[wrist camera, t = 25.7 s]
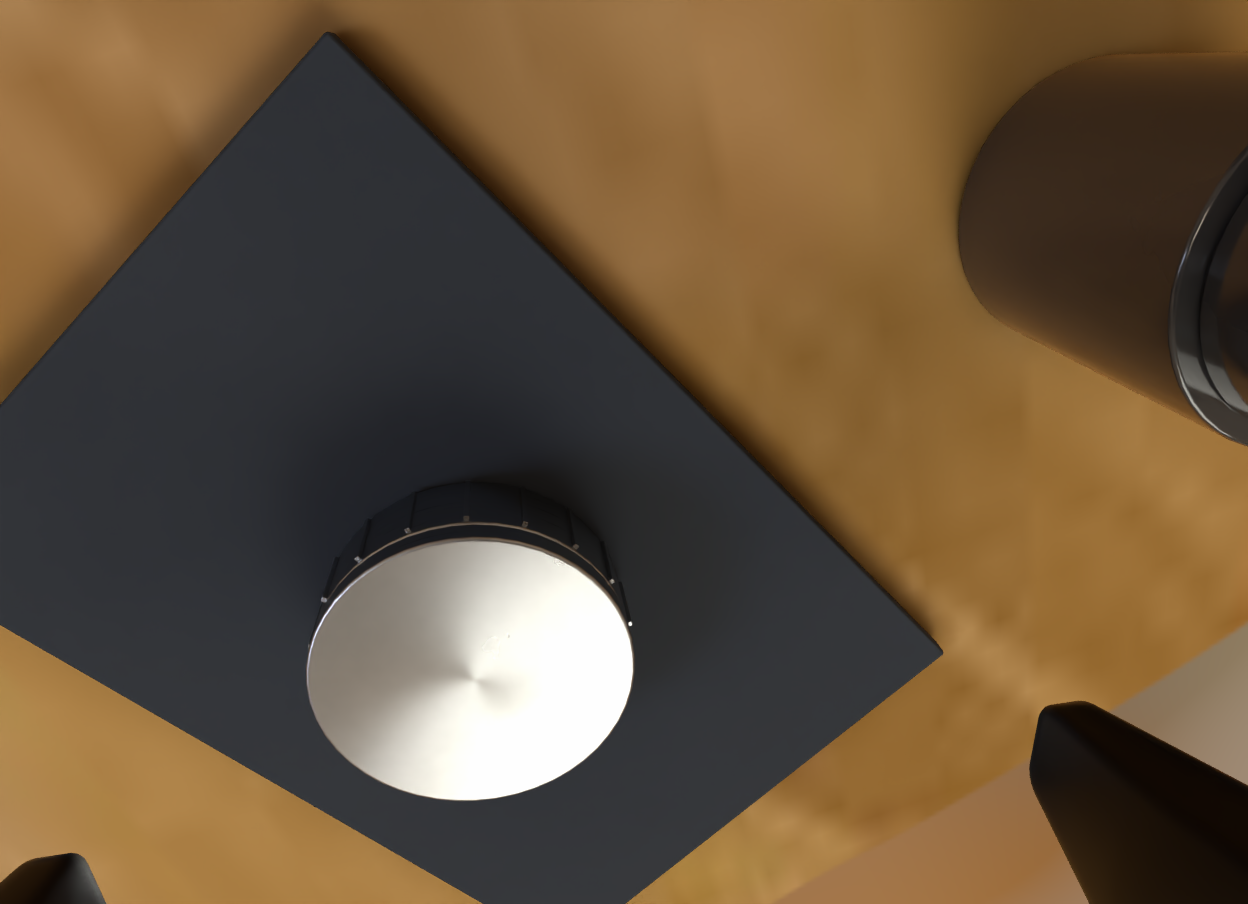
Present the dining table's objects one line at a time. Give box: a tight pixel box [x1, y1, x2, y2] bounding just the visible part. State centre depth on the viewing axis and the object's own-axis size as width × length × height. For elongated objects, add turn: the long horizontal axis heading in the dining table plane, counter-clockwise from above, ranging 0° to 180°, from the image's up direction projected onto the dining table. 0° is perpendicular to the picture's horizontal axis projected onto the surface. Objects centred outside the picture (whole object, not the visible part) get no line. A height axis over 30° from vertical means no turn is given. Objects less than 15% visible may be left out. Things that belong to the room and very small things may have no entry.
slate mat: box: [0, 32, 943, 904], centre depth 20 cm, size 20×14×1 cm
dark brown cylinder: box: [959, 51, 1248, 447], centre depth 15 cm, size 6×6×8 cm
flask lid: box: [306, 481, 635, 801], centre depth 19 cm, size 7×7×2 cm
